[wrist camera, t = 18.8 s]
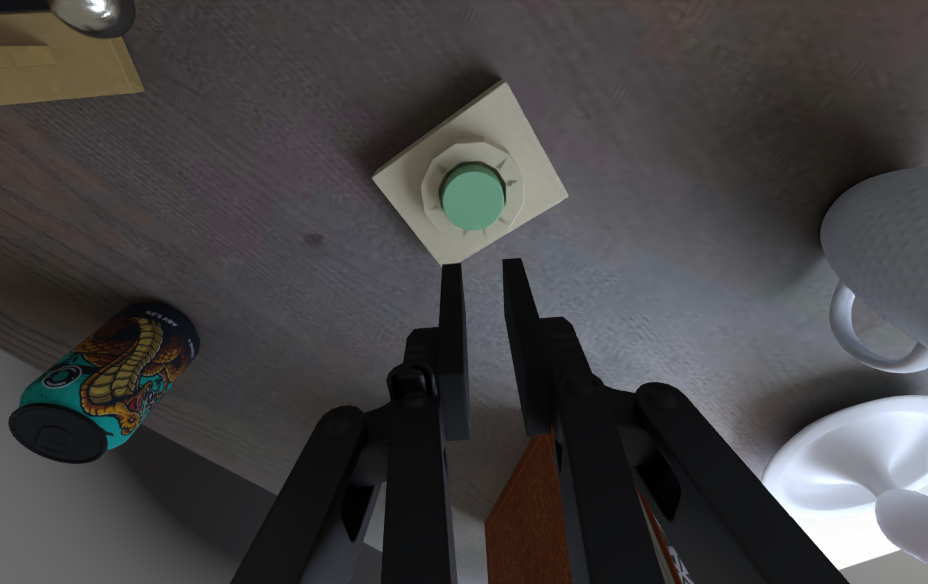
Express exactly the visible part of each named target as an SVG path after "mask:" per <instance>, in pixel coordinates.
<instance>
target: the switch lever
mask: <svg viewBox="0 0 928 584" xmlns="http://www.w3.org/2000/svg"><path fill="white" fill-rule="evenodd" d="M34 13H52V14H53V15H54V16H55V17H56V18H57V19H58V20H59V21H60V22H62V23H63V24H64V25H65V26H67V27H68V28H70V29H71V30H73V31H75V32H77V33H79V34H81V35H84V36H87V37H90V38H94V39H101V40H109V39H115V38H118V37H120V36H122V35H124V34H125V33H127V32H128V31H129V30H130V28H131V27H132V25H133V23H134V20H135V13H136V10H135V3H134V0H0V15H10V14H34Z"/></svg>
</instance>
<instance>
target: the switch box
mask: <svg viewBox="0 0 928 584" xmlns="http://www.w3.org/2000/svg"><path fill="white" fill-rule="evenodd" d="M470 164H476V165H481V166H484V167H486V168H488V169H490V170H491V171H492V172H493V173H494V174H495V175H496V176H497V178H498V180H499V182H500V184H501V187H502V190H503V194H504V206H503V210H502V212H501V214H500V216H499V217H498V219H497V220H496V221H495V222H494V223H493V224H491V225H490V226H488V227H486V228H484V229H481V230H475V231H471V230H465V229H462V228H459V227H457V226H456V225H454V224H453V223H452V222H451V221H450V220H449V219H448V217H447V216H446V214H445V212H444V209H443V189H444V185H445V182H446V180H447V178H448V177H449V176H450V174H451V173H452V172H453V171H455V170H456V169H458V168H459V167H462V166H465V165H470ZM372 180H373V181H374V182H375V183H376V185H377V186H378V187H379V188H380V190H381V191H382V192H383V194H384V195H385V196H386V197H387V199H388V200H389V201H390V202H391V204H392V205H393V206H394V208H395V209H396V210H397V211H398V213H399V214H400V215H401V216H402V218H403V219H404V220H405V222H406V223H407V224H408V225H409V227H410V228H411V229H412V230H413V232H414V233H415V234H416V236H417V237H418V238H419V239H420V241H421V242H422V243H423V244H424V246H425V247H426V248H427V250H428V251H429V252H430V253H431V255H432V256H433V257H434V258H435V260H436V261H437V262H438V264H439V265H440V266H441V267H442V264H452V263H459V262H461V261H462V260H464V259H466V258H467V257H469V256H471V255H472V254H474V253H476V252H477V251H479V250H481V249H482V248H484V247H486V246H487V245H489V244H491V243H492V242H494V241H496V240H497V239H499V238H501V237H502V236H504V235H506V234H507V233H509V232H511V231H512V230H514V229H515V228H517V227H519V226H520V225H522V224H524V223H525V222H527V221H529V220H530V219H532V218H534V217H535V216H537V215H539V214H540V213H542V212H544V211H545V210H547V209H549V208H550V207H552V206H554V205H555V204H557V203H559V202H560V201H562V200H564V199H565V198H567V197H568V196H569V195H568V193H567V192H566V190H565V188H564V186H563V184H562V182H561V181H560V179H559V177H558V175H557V173H556V171H555V170H554V168H553V166H552V164H551V162H550V160H549V159H548V157H547V155H546V153H545V151H544V149H543V148H542V146H541V144H540V142H539V140H538V139H537V137H536V135H535V133H534V131H533V129H532V128H531V126H530V124H529V122H528V120H527V118H526V117H525V115H524V113H523V111H522V109H521V107H520V106H519V104H518V102H517V100H516V98H515V96H514V95H513V93H512V91H511V89H510V87H509V85H508V84H507V82H506V81H505V80H504V79H501V80H500V81H498V82H497V83H495V84H494V85H493V86H491V87H490V88H488V89H487V90H486V91H484V92H483V93H482V94H480V95H479V96H477V97H476V98H475V99H473V100H472V101H470V102H469V103H468V104H466V105H465V106H464V107H462V108H461V109H459V110H458V111H457V112H455V113H454V114H453V115H451V116H450V117H448V118H447V119H446V120H444V121H443V122H441V123H440V124H439V125H437V126H436V127H435V128H433V129H432V130H430V131H429V132H428V133H426V134H425V135H424V136H422V137H421V138H419V139H418V140H417V141H415V142H414V143H412V144H411V145H410V146H408V147H407V148H406V149H404V150H403V151H401V152H400V153H399V154H397V155H396V156H395V157H393V158H392V159H390V160H389V161H388V162H386V163H385V164H383V165H382V166H381V167H379V168H378V169H377V170H376V171H375V173H374V175H373V176H372Z"/></svg>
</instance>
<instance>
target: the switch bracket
mask: <svg viewBox="0 0 928 584" xmlns="http://www.w3.org/2000/svg"><path fill="white" fill-rule="evenodd" d="M144 91H145V89H144V87H143V84H142V82H141V80H140V77H139V75H138V73H137V71H136V68H135V66H134V64H133V61H132V59H131V57H130V54H129V52H128V50H127V47H126V45H125V43H124V40H123V38H122V36H120V37H118V38H115V39H109V40H101V39H94V38H90V37H87V36H84V35H81V34H79V33H77V32H75V31H73V30H71V29H70V28H68V27H67V26H65V25H64V24H63V23H62V22H60V21H59V20H58V19H57V18H56V17H55V16H54V15H53V14H52V13H34V14H10V15H0V106H1V105H11V104H22V103H33V102H44V101H55V100H66V99H77V98H87V97H98V96H109V95H120V94H131V93H138V92H144Z"/></svg>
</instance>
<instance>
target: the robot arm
mask: <svg viewBox="0 0 928 584" xmlns="http://www.w3.org/2000/svg"><path fill="white" fill-rule="evenodd" d="M502 262H503V290H504V315H505V321H506V326H507V332H508V337H509V343H510V349H511V354H512V360H513V365H514V371H515V376H516V382H517V387H518V393H519V398H520V404H521V409H522V415H523V420H524V426H525V432H526V436H527V435H542V434H551V424H552V428H553V432H554V436H555V438H554V459H553V464H556V466H557V473H558V481H559V488H560V495H561V502H562V510H563V517H564V524H565V532H566V539H567V546H568V554H569V561H570V568H571V576H572V583H573V584H665V581H664V578H663V575H662V572H661V568H660V565H659V562H658V558H657V555H656V552H655V549H654V545H653V542H652V539H651V536H650V532H649V529H648V526H647V522H646V519H645V516H644V513H643V509H642V506H641V503H640V500H639V496H638V493H637V490H636V487H635V483H636V484H637V486H638V488H639V490H640V491H641V493H642V495H643V496H644V498H645V500H646V502H647V503H648V505H649V507H650V508H651V510H652V512H653V514H654V515H655V517H656V519H657V520H658V522H659V524H660V525H661V527H662V529H663V531H664V532H665V534H666V536H667V537H668V539H669V541H670V543H671V544H672V546H673V548H674V549H675V551H676V553H677V555H678V556H679V558H680V560H681V561H682V563H683V565H684V567H685V568H686V570H687V572H688V573H689V575H690V577H691V579H692V580H693V582H694V584H850V583H849V582H848V581H847V580H846V579H845V578H844V577H843V575H842V574H841V573H840V572H839V571H838V570H837V568H836V567H835V566H834V565H833V564H832V563H831V562H830V560H829V559H828V558H827V557H826V556H825V555H824V554H823V552H822V551H821V550H820V549H819V548H818V547H817V546H816V544H815V543H814V542H813V541H812V540H811V539H810V538H809V536H808V535H807V534H806V533H805V532H804V531H803V530H802V528H801V527H800V526H799V525H798V524H797V523H796V522H795V520H794V519H793V518H792V517H791V516H790V515H789V514H788V512H787V511H786V510H785V509H784V508H783V507H782V506H781V504H780V503H779V502H778V501H777V500H776V499H775V498H774V496H773V495H772V494H771V493H770V492H769V491H768V490H767V488H766V487H765V486H764V485H763V484H762V483H761V482H760V480H759V479H758V478H757V477H756V476H755V475H754V474H753V472H752V471H751V470H750V469H749V468H748V467H747V466H746V464H745V463H744V462H743V461H742V460H741V459H740V458H739V456H738V455H737V454H736V453H735V452H734V451H733V449H732V448H731V447H730V446H729V445H728V444H727V443H726V441H725V440H724V439H723V438H722V437H721V436H720V435H719V433H718V432H717V431H716V430H715V429H714V428H713V427H712V425H711V424H710V423H709V422H708V421H707V420H706V419H705V417H704V416H703V415H702V414H701V413H700V412H699V411H698V409H697V408H696V407H695V406H694V405H693V404H692V403H691V401H690V400H689V399H688V398H687V397H686V396H685V395H684V394H683V393H682V392H681V391H679V390H678V389H677V388H675V387H673V386H670V385H668V384H664V383H659V382H650V383H646V384H643V385H641V386H640V387H639V388H638V389H637V390H636V393H632V392H626V391H620V390H616V389H612V388H610V387H607V386H605V385H604V384H603V382H602V381H601V379H599V378H598V377H597V376H596V375H594V374H592V372H591V369H590V367H589V364H588V362H587V359H586V357H585V355H584V352H583V350H582V347H581V345H580V343H579V340H578V338H577V336H576V333H575V330H574V328H573V325H572V324H571V323H570V322H568V321H567V320H566V319H565V318H564V317H551V318H539V316H538V312H537V309H536V306H535V302H534V299H533V296H532V292H531V289H530V286H529V283H528V279H527V276H526V273H525V269H524V266H523V263H522V260H521V258H515V259H502ZM386 381H387V385H388V390H389V394H390V398H391V401H390V402H389V403H387V404H386V405H384V406H382V407H380V408H378V409H375V410H372V411H369V412H366V413H363V411H362V410H360V409H359V408H358V407H355V406H350V405H347V406H339V407H337V408H334V409H332V410H330V411H329V412H327V413H326V414H324V415H323V416H322V418H321V419H320V420H319V421H318V423H317V425H316V427H315V428H314V430H313V432H312V434H311V436H310V438H309V439H308V441H307V443H306V445H305V447H304V449H303V450H302V452H301V454H300V456H299V458H298V460H297V462H296V463H295V465H294V467H293V469H292V471H291V473H290V474H289V476H288V478H287V480H286V482H285V484H284V485H283V487H282V489H281V491H280V493H279V495H278V496H277V499H276V500H275V502H274V504H273V506H272V507H271V509H270V511H269V513H268V515H267V517H266V519H265V520H264V522H263V524H262V526H261V528H260V530H259V531H258V533H257V535H256V537H255V539H254V541H253V543H252V544H251V546H250V548H249V550H248V552H247V553H246V555H245V557H244V559H243V561H242V563H241V564H240V566H239V568H238V570H237V572H236V574H235V576H234V577H233V579H232V581H231V583H230V584H349V582H350V579H351V576H352V573H353V570H354V567H355V563H356V561H357V557H358V555H359V552H360V548H361V545H362V542H363V539H364V536H365V533H366V530H367V527H368V524H369V521H370V518H371V515H372V512H373V509H374V506H375V503H376V500H377V497H378V494H379V491H380V487H381V484H382V482H384V481H387V486H386V503H385V520H384V537H383V555H382V572H381V584H458V582H457V570H456V558H455V546H454V535H453V523H452V511H451V499H450V487H449V475H448V464H447V453H446V447H445V436H446V441H456V440H470V439H471V430H470V406H469V381H468V356H467V331H466V313H465V302H464V292H463V281H462V270H461V263H452V264H442V279H441V297H440V315H439V327H432V328H419V329H414V330H413V331H412V332H411V334H410V335H409V336H408V338H407V341H406V348H405V354H404V360H403V363H402V364H400V365H398V366H396V367H395V368H393V369H392V370H391V372H390V373H389V374H388V377H387V379H386ZM633 479H634V480H633ZM634 481H635V483H634Z"/></svg>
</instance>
